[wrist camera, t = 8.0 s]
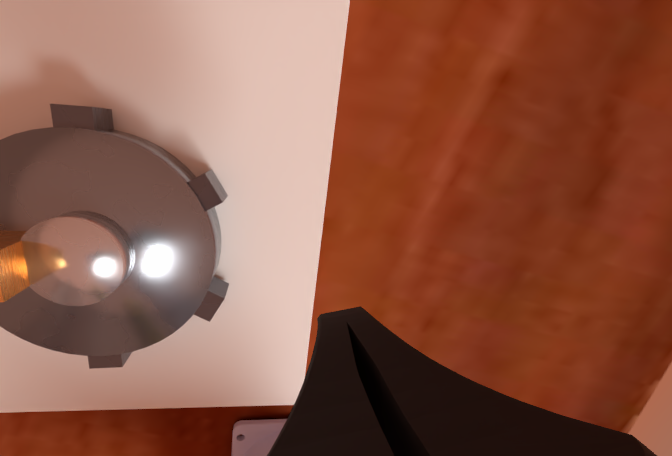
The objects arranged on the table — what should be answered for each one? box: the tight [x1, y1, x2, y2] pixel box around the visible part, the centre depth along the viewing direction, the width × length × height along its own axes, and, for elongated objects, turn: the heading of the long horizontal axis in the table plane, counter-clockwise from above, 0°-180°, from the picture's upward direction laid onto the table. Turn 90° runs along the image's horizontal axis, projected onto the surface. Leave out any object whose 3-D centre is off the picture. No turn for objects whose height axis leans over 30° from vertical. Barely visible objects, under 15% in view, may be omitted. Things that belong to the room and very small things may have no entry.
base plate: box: [0, 0, 350, 413], centre depth 16 cm, size 22×22×1 cm
